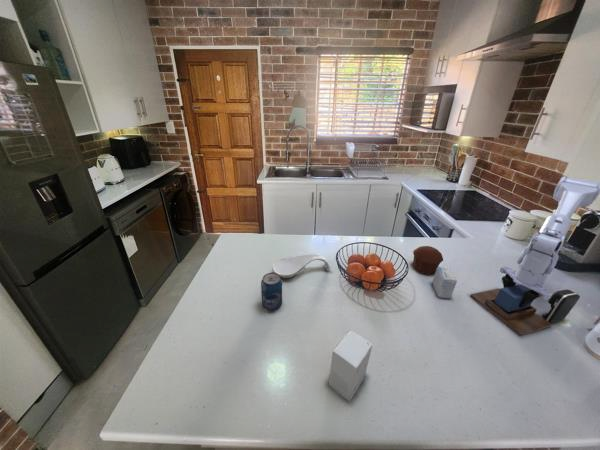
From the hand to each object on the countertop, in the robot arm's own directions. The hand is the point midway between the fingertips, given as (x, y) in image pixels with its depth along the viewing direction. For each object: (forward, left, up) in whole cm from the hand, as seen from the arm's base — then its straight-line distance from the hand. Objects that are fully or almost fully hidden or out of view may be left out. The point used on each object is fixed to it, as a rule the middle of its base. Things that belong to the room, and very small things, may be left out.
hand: (513, 300), depth 85 cm
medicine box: (+16, -14, -5) cm, 22 cm away
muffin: (+12, -28, -5) cm, 31 cm away
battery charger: (-12, +6, -5) cm, 14 cm away
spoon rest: (+65, -38, -5) cm, 75 cm away
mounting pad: (0, 0, -5) cm, 5 cm away
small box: (+66, +8, -5) cm, 67 cm away
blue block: (0, 0, -2) cm, 2 cm away
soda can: (+80, -22, -5) cm, 83 cm away
